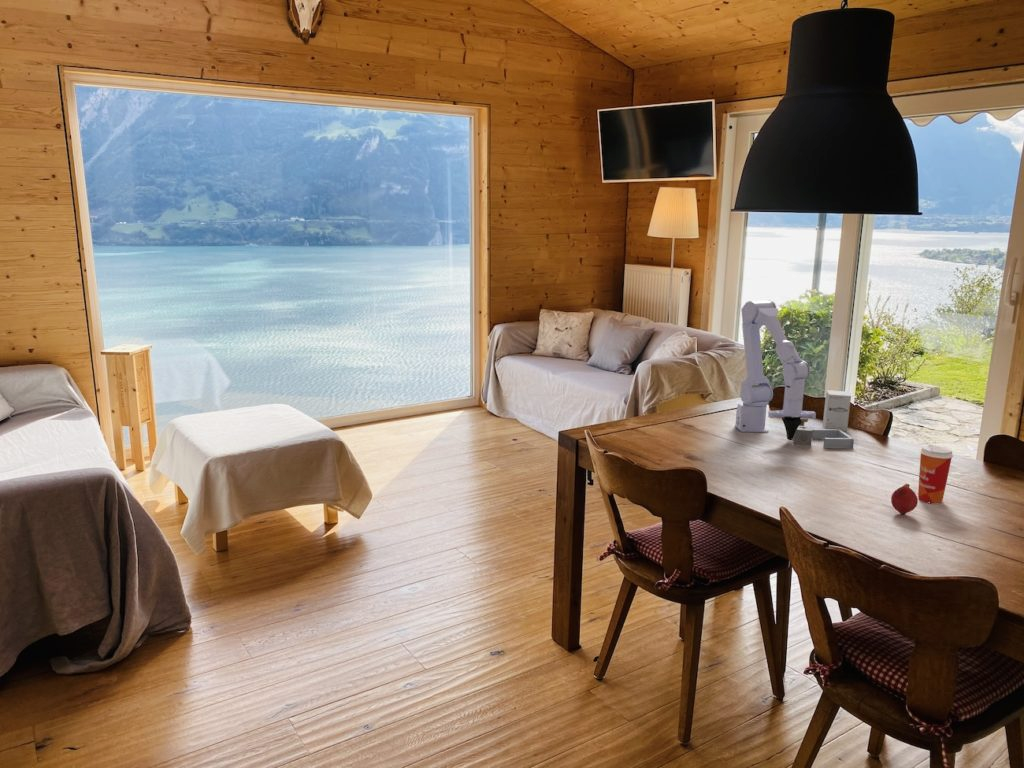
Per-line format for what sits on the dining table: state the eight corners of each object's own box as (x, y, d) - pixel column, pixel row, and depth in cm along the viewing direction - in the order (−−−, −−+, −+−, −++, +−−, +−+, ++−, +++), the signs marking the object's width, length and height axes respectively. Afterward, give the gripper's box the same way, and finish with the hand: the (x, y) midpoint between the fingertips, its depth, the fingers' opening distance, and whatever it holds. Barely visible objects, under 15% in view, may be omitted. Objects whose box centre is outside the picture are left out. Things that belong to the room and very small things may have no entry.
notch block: (824, 447, 244) (825, 438, 243) (811, 437, 255) (812, 429, 254) (853, 448, 244) (854, 439, 243) (839, 438, 254) (840, 429, 254)
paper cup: (908, 494, 204) (914, 443, 201) (937, 494, 204) (944, 444, 201) (922, 505, 197) (929, 453, 193) (953, 505, 196) (960, 453, 193)
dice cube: (809, 441, 251) (810, 426, 250) (811, 445, 246) (812, 430, 245) (792, 440, 252) (794, 425, 251) (794, 444, 247) (796, 429, 246)
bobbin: (793, 437, 255) (795, 420, 253) (788, 433, 259) (790, 416, 258) (808, 437, 255) (810, 420, 253) (803, 433, 259) (805, 416, 258)
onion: (903, 520, 187) (907, 489, 185) (884, 511, 192) (887, 481, 190) (920, 516, 189) (924, 486, 187) (900, 508, 194) (904, 478, 193)
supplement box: (824, 429, 264) (828, 394, 261) (822, 424, 271) (826, 389, 268) (847, 431, 262) (851, 395, 259) (845, 426, 269) (848, 391, 266)
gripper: (774, 401, 242) (771, 442, 245) (820, 402, 242) (816, 443, 245) (767, 396, 249) (764, 436, 252) (812, 396, 249) (808, 436, 252)
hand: (789, 439), depth 249 cm, fingers closed
